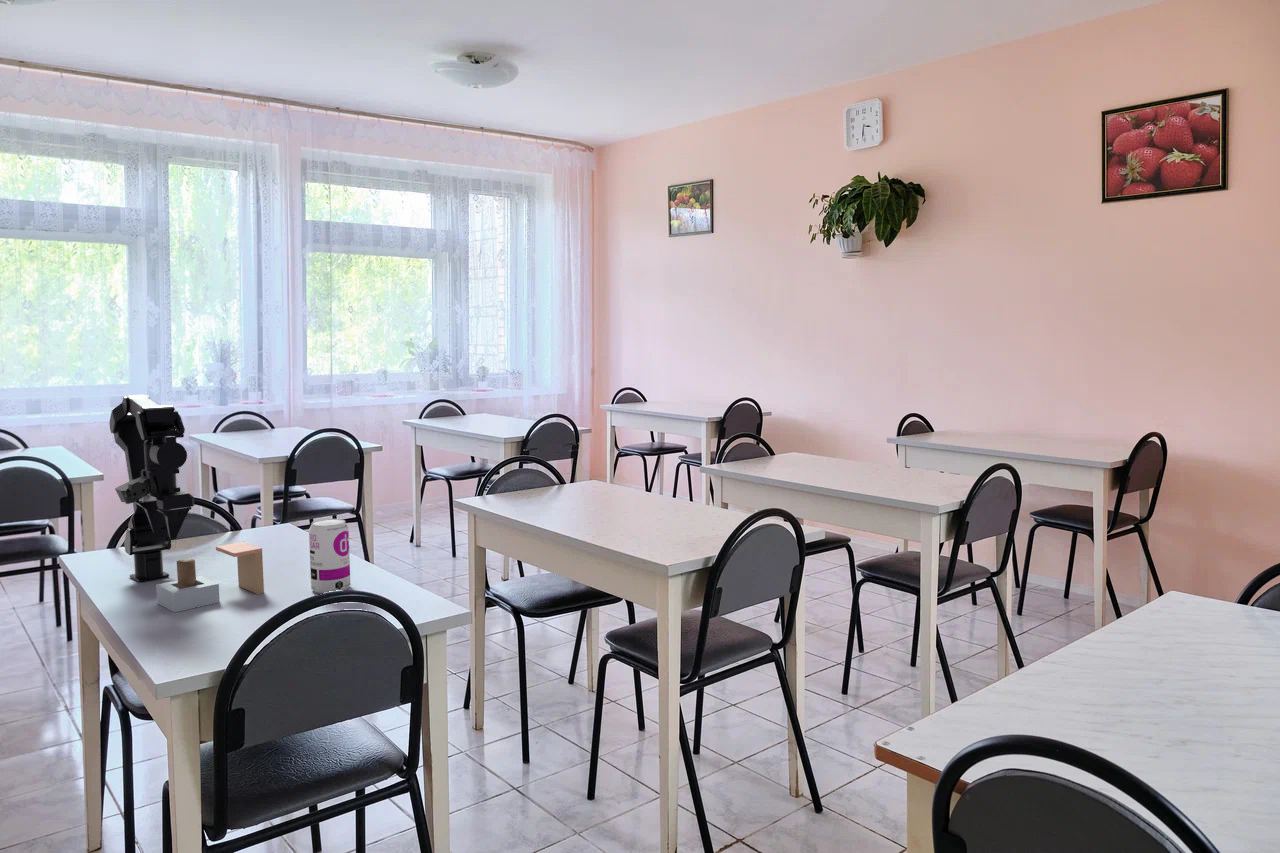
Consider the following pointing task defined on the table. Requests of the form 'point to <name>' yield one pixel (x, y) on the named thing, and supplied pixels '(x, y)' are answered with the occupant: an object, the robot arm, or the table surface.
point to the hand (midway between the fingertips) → (164, 536)
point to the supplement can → (329, 555)
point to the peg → (186, 573)
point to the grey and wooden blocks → (209, 590)
